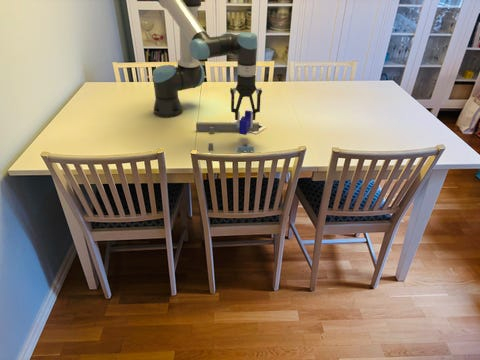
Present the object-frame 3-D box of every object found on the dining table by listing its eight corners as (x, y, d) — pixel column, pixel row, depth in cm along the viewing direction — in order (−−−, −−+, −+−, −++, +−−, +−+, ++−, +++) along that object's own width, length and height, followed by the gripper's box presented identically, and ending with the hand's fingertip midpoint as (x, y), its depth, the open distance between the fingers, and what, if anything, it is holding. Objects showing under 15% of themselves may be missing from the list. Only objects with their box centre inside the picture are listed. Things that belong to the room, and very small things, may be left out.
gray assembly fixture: (193, 152, 145) (192, 144, 143) (196, 129, 163) (196, 122, 160) (262, 152, 146) (263, 144, 144) (258, 130, 164) (258, 122, 162)
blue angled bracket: (242, 122, 155) (242, 110, 152) (251, 123, 154) (252, 111, 151) (235, 133, 146) (236, 120, 142) (246, 134, 145) (246, 122, 141)
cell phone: (238, 119, 175) (238, 117, 175) (266, 129, 166) (266, 127, 166) (227, 124, 170) (227, 122, 169) (255, 135, 160) (255, 133, 160)
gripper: (224, 76, 133) (224, 130, 147) (269, 77, 134) (265, 130, 147) (224, 71, 140) (224, 122, 153) (267, 71, 140) (264, 122, 154)
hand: (244, 126), depth 150 cm, fingers closed on blue angled bracket, 5 cm apart
